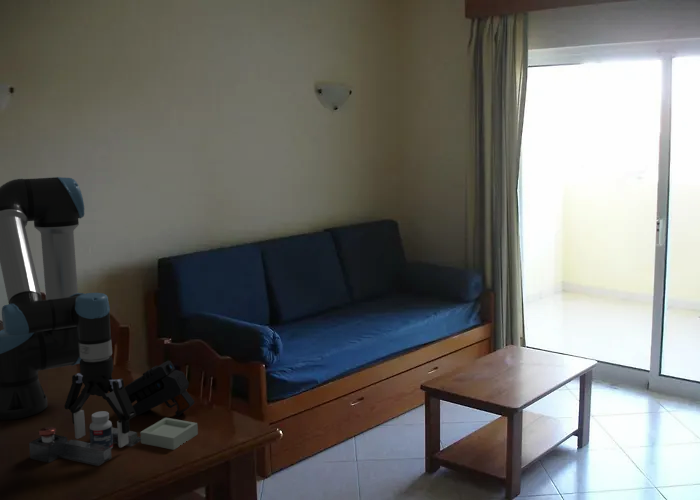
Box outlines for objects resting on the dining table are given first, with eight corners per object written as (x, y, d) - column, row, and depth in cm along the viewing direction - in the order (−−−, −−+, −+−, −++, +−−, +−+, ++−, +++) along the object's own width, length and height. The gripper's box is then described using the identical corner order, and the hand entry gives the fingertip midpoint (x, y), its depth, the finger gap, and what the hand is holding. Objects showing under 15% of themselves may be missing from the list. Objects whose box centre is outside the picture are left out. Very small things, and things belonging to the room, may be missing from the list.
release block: (30, 458, 172) (29, 442, 171) (49, 448, 177) (48, 433, 177) (49, 462, 170) (48, 446, 169) (68, 452, 175) (67, 437, 174)
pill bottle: (92, 454, 174) (90, 420, 172) (89, 446, 178) (86, 412, 177) (115, 450, 176) (112, 415, 175) (111, 442, 181) (109, 408, 179)
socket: (59, 457, 172) (58, 446, 172) (105, 432, 187) (104, 422, 186) (98, 466, 168) (97, 454, 167) (142, 439, 182) (142, 429, 182)
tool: (192, 409, 194) (164, 361, 193) (137, 438, 199) (110, 392, 198) (201, 401, 200) (174, 355, 199) (148, 429, 205) (121, 384, 204)
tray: (141, 443, 180) (140, 431, 179) (166, 428, 189) (165, 417, 189) (173, 449, 176) (173, 438, 176) (197, 434, 185) (197, 423, 185)
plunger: (37, 454, 172) (35, 431, 171) (49, 448, 176) (47, 425, 175) (49, 457, 171) (47, 434, 170) (61, 450, 174) (59, 428, 173)
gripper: (45, 356, 175) (51, 439, 178) (126, 367, 165) (132, 455, 169) (68, 348, 182) (74, 427, 185) (147, 358, 172) (152, 442, 175)
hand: (101, 441), depth 177 cm, fingers open, 13 cm apart
